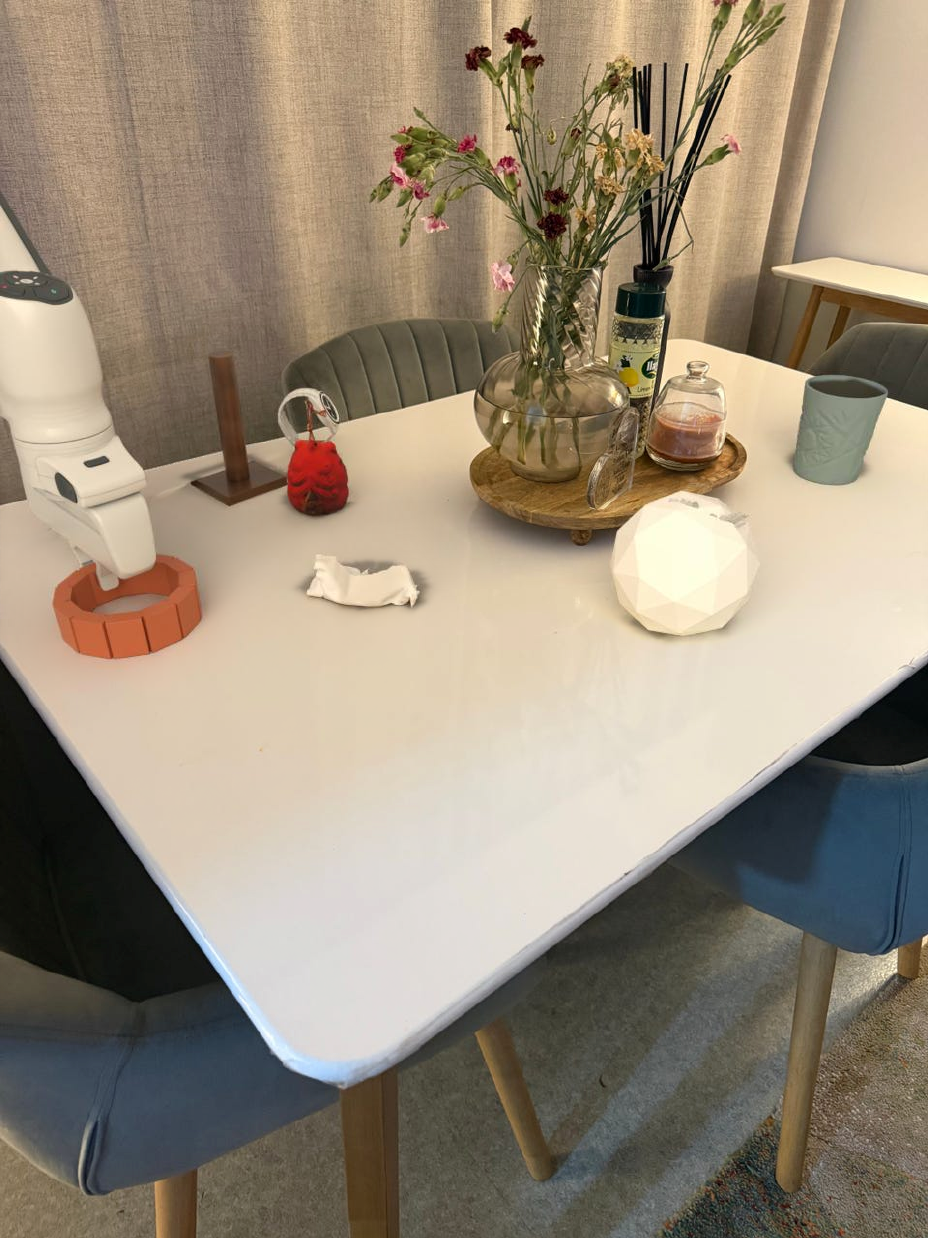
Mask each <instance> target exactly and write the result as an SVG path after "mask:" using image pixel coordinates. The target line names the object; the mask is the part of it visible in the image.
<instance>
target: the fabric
mask: <svg viewBox="0 0 928 1238" xmlns="http://www.w3.org/2000/svg"><path fill="white" fill-rule="evenodd" d="M313 570H316V573H315V577H314V578H313V579H312V581H311V583H310V587H309V588H308V589H307V590H306V594H305V596H307V597H309V596H310V597H314V598H324V599H325V600H328V601H331V602H334V603H337V604H341V605H346V606H357V607H359V606H360V607H370V608H371V607H383V606H387V605H389V604H392V605H394V606H404V605H406V604H407V603H408V602H409V603H410V607H411V609H413V608H414V605H415V604H416V602H417V599H418V597H419V594H420V590H418V589H417V587H418V584H415V582H414V580H413V577H412V574H411V572H410V569H409V567H408V566H407V565H406V564H403V565H400V564H398V565H391V566H390V567H389V568H387V569H383V570H380V571H378V572H373V573H369V571H370V570H371V568H370V567H367V569H365V570H364V571H362V572H361V570H360V569H358V568H357V567H354V566H353V567H352V566H348V565H343V564H342V563H341V562H340V561H339V559H338V557H336V555H326V554H325V555H324V554H320V553H316V554H315V563H314V566H313Z"/></svg>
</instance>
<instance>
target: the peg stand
mask: <svg viewBox="0 0 928 1238" xmlns="http://www.w3.org/2000/svg"><path fill="white" fill-rule="evenodd" d="M207 358H208V364H209V371H210V379H211V385H212V390H213V398H214V404H215V412H216V417H217V424H218V430H219V431H218V432H219V438H220V445H221V451H222V458H223V463H224V470H221V471H218V472H215V473H213V474H209V475H206V476H204V477H200V478H197V479H194V480H192V481H190V485H191V486H192V487H194V488H195V489H198V490H200V491H202V492H204V494H207V495H209V496H210V497H213V498H215V499H216V500H218V501H220V502H222V503H224V504H225V505H227V506H229V507H230V506H233V505H236V504H238V503H241V502H243V501H246V500H249V499H252V498H255V497H257V496H261V495H263V494H266V493H268V492H271V491H274V490H277V489H280V488H282V487H286V486H287V485H288V480H287V475H284V474H282V473H280V472H278V471H277V470H274V469H272V468H270V467H268V466H266V465H264V464H261V463H260V462H258V461H256V460H252V461H249V459H248V452H247V451H248V450H247V444H246V437H245V429H244V422H243V415H242V407H241V399H240V391H239V385H238V377H237V370H236V363H235V362H236V361H235V355H234V352H233V351H230V350H223V349H221V350H214V351H211V352H208V354H207Z"/></svg>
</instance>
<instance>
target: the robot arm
mask: <svg viewBox="0 0 928 1238" xmlns="http://www.w3.org/2000/svg"><path fill="white" fill-rule="evenodd" d="M0 418H3V419H5V420H6V421H7V423H8V424H9V429H10V434H11V438H12V442H13V445H14V449H15V452H16V456H17V459H18V463H19V469H20V474H21V475H20V476H21V479H22V480H21V481H22V484H23V489H24V492H25V498H26V501H27V505H28V506H29V509H30V511H31V513H32V514H33V516H34V517H35V518H36V519H37V520H39V521H40V522H42V523H43V524H44V525H45V526H47V527H48V528H50V529H51V530H53V531H54V532H56V533H57V534H58V535H60V537H62V538H64V539H65V540H66V541H67V542H68V545H69V548H70V549H71V551H72V552H73V555H74V556H75V558H76V560H77V562H78V565H79V568H81V567H84V566H87V565H89V564H92V563H96V571H95V572H93V574H94V577H95V580H96V584H97V585H98V586H99V587H100V588H101V589H103V590H104V591H108V590H111V589H113V588H116V587H117V586H118V585H119V580H118V577H119V578H121V579H127V578H130V577H133V576H136V575H138V574H141V573H143V572H146V571H148V570H150V569H152V568H153V566H154V564H155V561H156V554H157V550H156V541H155V536H154V529H153V524H152V520H151V519H152V518H151V514H150V510H149V506H148V503H147V501H146V499H145V497H144V495H143V494H142V492H141V491H143V490H146V489H147V487H148V482H147V481H148V480H147V476H146V473H145V470H144V469H143V467H142V466H141V464H140V463H139V462H138V461H136V459H135V458H134V457H133V456H132V454H130V453H129V451H128V450H127V449H126V447H125V446H124V444H123V442H122V440H121V438H120V436H119V435H117V434H116V430H115V426H114V425H115V424H114V420H113V417H112V414H111V412H110V410H109V408H108V405H107V404H106V402H105V400H104V396H103V369H102V366H101V361H100V356H99V352H98V348H97V344H96V341H95V337H94V333H93V330H92V326H91V323H90V320H89V318H88V315H87V312H86V310H85V308H84V306H83V303H82V302H81V299H80V298H79V296H78V294H77V293H76V291H75V289H74V288H73V287H72V285H70V284H69V283H68V282H66V281H65V280H63V279H60V278H59V277H57V276H55V275H53V273H52V272H51V271H50V269H49V268H48V266H47V265H46V263H45V262H44V261H43V258H42V257H41V255H40V254H39V252H38V251H37V249H36V247H35V245H34V243H33V241H32V240H31V239H30V237H29V236H28V234H27V232H26V231H25V229H24V227H23V226H22V224H21V222H20V221H19V218H18V217H17V216H16V214H15V212H14V211H13V210H12V208H11V205H10V204H9V202H8V200H7V199H6V197H5V196H4V194H3V192H2V191H1V190H0Z"/></svg>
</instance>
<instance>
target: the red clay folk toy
mask: <svg viewBox="0 0 928 1238" xmlns="http://www.w3.org/2000/svg"><path fill="white" fill-rule="evenodd" d="M303 402H304V404H305V405H306V415H307V422H308V424H307V425H306V430H307V432H309V435H308V440H309V441H304V440H305V439H300V440H299V441H297V442H296V443H295V446H293V447H294V450H295V451H294V450H293V452H294V453H293V452H292V454H293V455H291V457H290V460H289V463H288V466H287V474H286V476H287V484H288V485H286V486H287V487H286V493H287V494H286V495H287V498H288V500H289V502H290V504H291V506H292V507H293V508H294V509H295V510H296V511H298V512H299V513H301V514H303V515H306V516H311V517H320V516H328V515H331V514H334V513H336V512H338V511H341V510H342V509H343V508H344V506H345V505H346V503H347V502H348V498H349V495H350V489H349V485H348V484H349V476H348V470H347V466H346V465H345V463H344V462H343V459H342V457H341V456H340V455H339V453H338V450H337V446H336V444H335V443H334V442H333V441H332V442H331V441H327V442H319V441H316V436H315V435H314V432H313V430H314V424H313V414H315V415H317V414H319V415H321V416H323V417H327V414H326V412H327V411H326V410H321V411H318V410H314V408H313V405H312V403H310V401H309V399H308V398H306V399H305V400H303Z"/></svg>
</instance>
